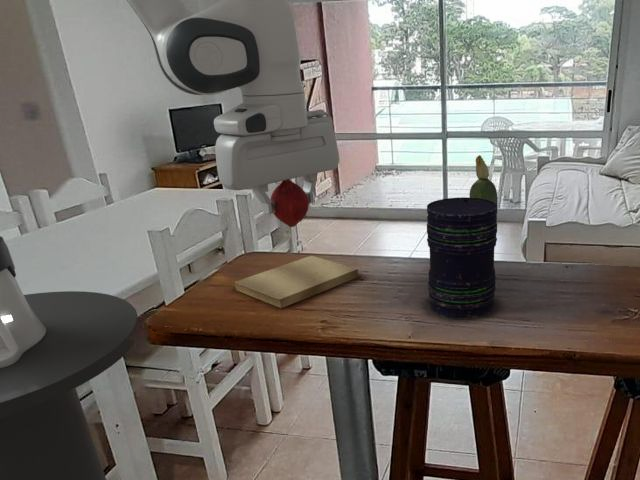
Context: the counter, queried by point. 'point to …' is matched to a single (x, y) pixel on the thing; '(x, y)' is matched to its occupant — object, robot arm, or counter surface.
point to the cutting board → (296, 281)
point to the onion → (290, 203)
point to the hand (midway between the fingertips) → (288, 208)
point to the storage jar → (462, 257)
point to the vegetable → (483, 183)
